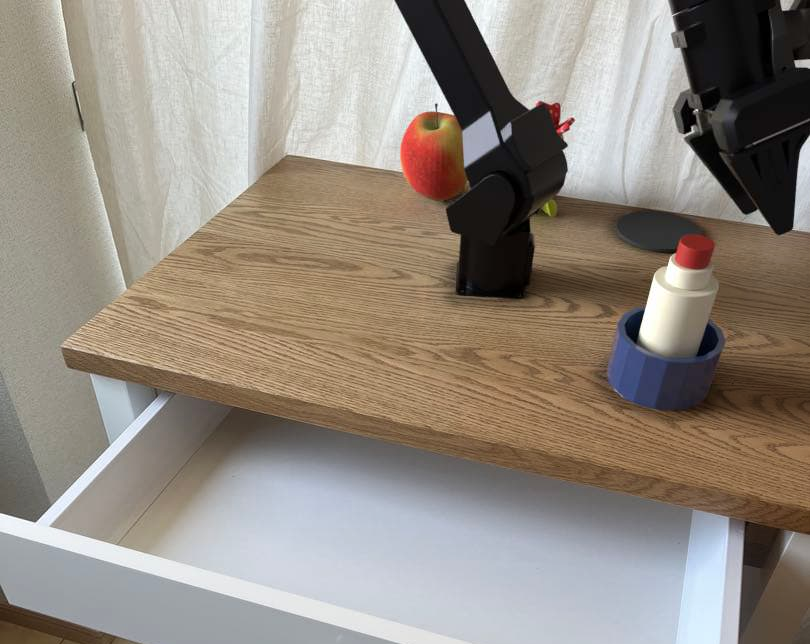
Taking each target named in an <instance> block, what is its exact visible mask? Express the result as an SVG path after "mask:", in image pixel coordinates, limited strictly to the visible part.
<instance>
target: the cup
mask: <svg viewBox="0 0 810 644" xmlns="http://www.w3.org/2000/svg"><path fill="white" fill-rule="evenodd" d="M645 309H646V305H643V306H637V307H634V308H633V309H631V310H629V311H626V312H624V314H622V316H621V317H620V319H619V321H618V323H617V325H616V330H615V333H614V337H613V342H612V346H611V350H610V355H609V359H608V363H607V367H606V377H607V381H608V383H609V385H610V386H611V388H612V389H613V390H614V391H615V392H616V393H617V394H618V395H620V396H621V397H622V398H624V399H625V400H627V401H629V402H631V403H633V404H636V405H639V406H641V407H644V408H649V409H653V410H659V411H679V410H685V409H690V408H692V407H695V406H696V405H699V404H701V402H703V401H704V400H705V399H706V398H707V396H708V393H709V391H710V388H711V385H712V383H713V380H714V377H715V374H716V371H717V369H718V365H719V363H720V360H721V357H722V354H723V351H724V349H725V345H726V343H727V341H726V340H727V339H726V338H725V334H724V331H723V330H722V328H721V327H720V326H718V325H717V324H716V323H715V322H714V321H713V320H712V319H711V318H709V319H708V322H707V325H706V328H705V331H704V334H703V337H702V340H701V343H700V346H699V350H698V353H697V356H696V357H695V358H689V359H683V358H668V357H665V356H661V355H658V354H654V353H650V352H648V351H647V350H645V349H643V348H641V347H639V346H637V345H636V343H637V339H638V336H639V332H640V328H641V324H642V320H643V316H644V312H645Z"/></svg>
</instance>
